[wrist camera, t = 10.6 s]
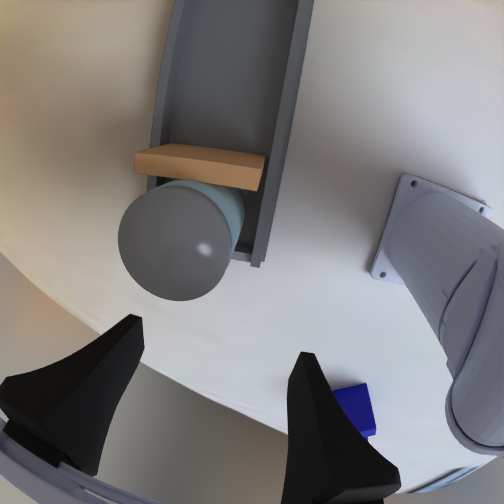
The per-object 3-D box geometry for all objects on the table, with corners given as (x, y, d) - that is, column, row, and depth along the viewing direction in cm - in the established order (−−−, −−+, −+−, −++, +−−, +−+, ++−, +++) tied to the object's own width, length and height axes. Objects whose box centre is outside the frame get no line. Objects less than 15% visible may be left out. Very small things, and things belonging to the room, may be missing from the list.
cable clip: (324, 390, 27) (329, 437, 21) (365, 381, 26) (376, 428, 21) (331, 436, 32) (334, 473, 26) (364, 430, 31) (369, 466, 25)
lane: (317, -22, 11) (324, -45, 8) (264, 259, 20) (261, 284, 17) (192, -31, 11) (177, -53, 8) (152, 238, 20) (133, 258, 17)
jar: (256, 184, 17) (246, 210, 11) (232, 256, 19) (212, 316, 12) (180, 160, 17) (127, 173, 10) (162, 233, 19) (112, 279, 12)
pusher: (265, 156, 17) (260, 169, 12) (262, 172, 17) (256, 191, 13) (170, 143, 17) (134, 153, 12) (169, 158, 17) (133, 173, 13)
